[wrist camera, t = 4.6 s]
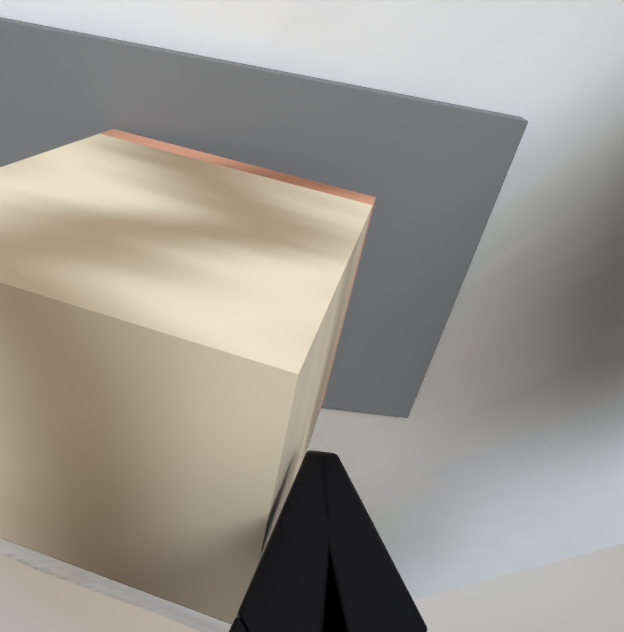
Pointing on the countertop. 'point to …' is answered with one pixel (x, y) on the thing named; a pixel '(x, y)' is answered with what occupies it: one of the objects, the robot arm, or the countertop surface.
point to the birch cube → (164, 356)
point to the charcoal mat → (293, 171)
